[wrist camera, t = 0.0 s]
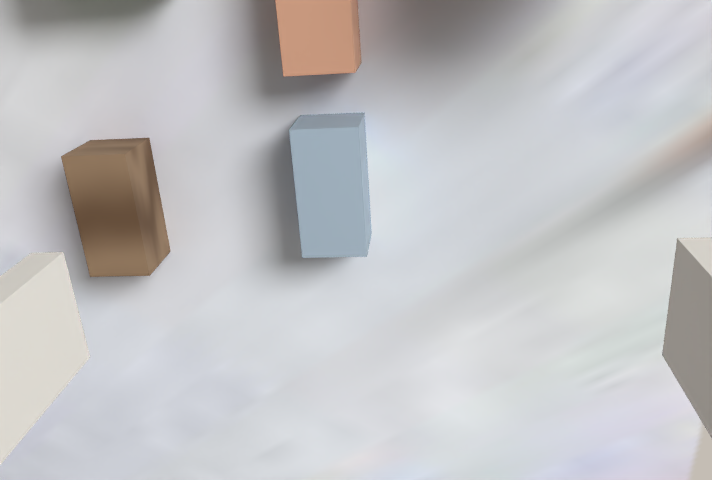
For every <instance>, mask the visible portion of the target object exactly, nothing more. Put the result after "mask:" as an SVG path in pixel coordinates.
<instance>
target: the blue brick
mask: <svg viewBox="0 0 712 480" xmlns="http://www.w3.org/2000/svg"><path fill="white" fill-rule="evenodd" d="M289 135H290V144H291V154H292V164H293V173H294V183H295V192H296V202H297V212H298V221H299V231H300V240H301V250H302V258H320V257H367V254H368V249H369V244H370V238H371V233H372V231H371V215H370V198H369V181H368V164H367V147H366V130H365V113H341V114H318V115H300V117H299V118H298V119H297V120H296V122H295V123H294V124H293V125H292V127H291V128H290V129H289Z"/></svg>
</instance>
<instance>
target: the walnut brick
mask: <svg viewBox="0 0 712 480" xmlns="http://www.w3.org/2000/svg"><path fill="white" fill-rule="evenodd" d="M61 158H62V162H63V166H64V170H65V175H66V179H67V183H68V187H69V191H70V195H71V199H72V204H73V208H74V212H75V216H76V220H77V224H78V228H79V232H80V237H81V241H82V245H83V249H84V253H85V257H86V261H87V266H88V270H89V274H90V277H100V276H150V275H151V274H152V272H153V271H154V270H155V269H156V268H157V266H158V265H159V264H160V263H161V262H162V261H163V259H164V258H165V257H166V256H167V255H168V254H169V252H170V246H169V241H168V236H167V230H166V225H165V220H164V214H163V209H162V204H161V198H160V193H159V187H158V182H157V177H156V171H155V166H154V161H153V155H152V150H151V145H150V139H149V138H133V139H109V140H90V141H88V142H86V143H85V144H83V145H81V146H79V147H77V148H75V149H74V150H72V151H70V152H68V153H66V154H65V155H63V156H61Z"/></svg>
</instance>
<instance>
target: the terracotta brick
mask: <svg viewBox="0 0 712 480" xmlns="http://www.w3.org/2000/svg"><path fill="white" fill-rule="evenodd" d="M275 1H276V11H277V20H278V30H279V39H280V49H281V58H282V68H283V76H302V75H321V74H340V73H355V72H356V71H357V69H358V67H359V66H360V64H361V50H360V34H359V17H358V1H357V0H275Z"/></svg>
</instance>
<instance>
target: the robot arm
mask: <svg viewBox="0 0 712 480" xmlns="http://www.w3.org/2000/svg"><path fill="white" fill-rule="evenodd" d="M662 356H663V357H664V359H665V361H666V362H667V364H668V366H669V367H670V369H671V371H672V372H673V374H674V376H675V377H676V379H677V381H678V382H679V384H680V386H681V387H682V389H683V391H684V392H685V394H686V396H687V398H688V399H689V401H690V403H691V404H692V406H693V408H694V409H695V411H696V413H697V414H698V416H699V418H700V419H701V421H702V423H703V424H704V426H705V428H706V429H707V431H708V433H709V434H710V436H711V438H712V237H711V238H677V244H676V252H675V260H674V268H673V275H672V283H671V291H670V298H669V306H668V314H667V321H666V329H665V337H664V345H663V352H662ZM89 358H90V354H89V351H88V347H87V343H86V339H85V335H84V331H83V327H82V323H81V319H80V315H79V311H78V307H77V303H76V300H75V296H74V292H73V288H72V284H71V280H70V276H69V272H68V268H67V264H66V260H65V256H64V252H47V253H30V254H29V255H28V256H26V257H25V258H24V259H22V260H21V261H20V262H19V263H17V264H16V265H15V266H13V267H12V268H11V269H9V270H8V271H7V272H5V273H4V274H3V275H1V276H0V465H1V464H2V463H3V461H4V460H5V459H6V458H7V457H8V455H9V454H10V453H11V452H12V451H13V449H14V448H15V447H16V446H17V445H18V443H19V442H20V441H21V440H22V439H23V437H24V436H25V435H26V434H27V433H28V431H29V430H30V429H31V428H32V427H33V425H34V424H35V423H36V422H37V421H38V419H39V418H40V417H41V416H42V415H43V413H44V412H45V411H46V410H47V409H48V407H49V406H50V405H51V404H52V403H53V401H54V400H55V399H56V398H57V397H58V395H59V394H60V393H61V392H62V391H63V389H64V388H65V387H66V386H67V385H68V383H69V382H70V381H71V380H72V379H73V377H74V376H75V375H76V374H77V372H78V371H79V370H80V369H81V368H82V366H83V365H84V364H85V363H86V362H87V360H88V359H89Z"/></svg>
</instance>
